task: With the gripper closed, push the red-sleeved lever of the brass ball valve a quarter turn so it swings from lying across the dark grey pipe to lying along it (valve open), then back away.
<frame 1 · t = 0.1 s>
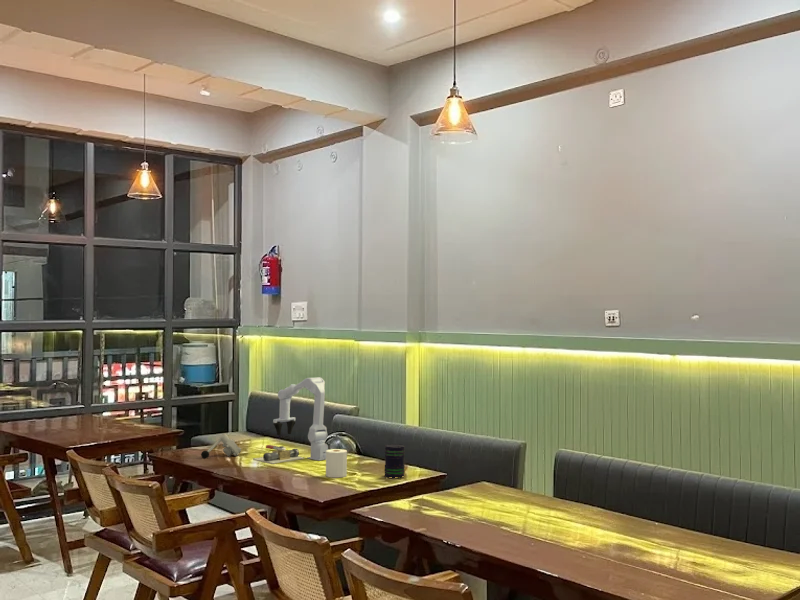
hand: (284, 434, 436), 10 cm above the table, fingers open, 7 cm apart
mounting board: (278, 459, 415), on the table
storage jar: (394, 476, 374), on the table
toilet paper: (336, 476, 373), on the table
lever: (275, 447, 417), point 6 cm above the table, hinge at 0.0°
valve body: (281, 459, 413), resting on mounting board
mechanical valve: (220, 457, 419), on the table
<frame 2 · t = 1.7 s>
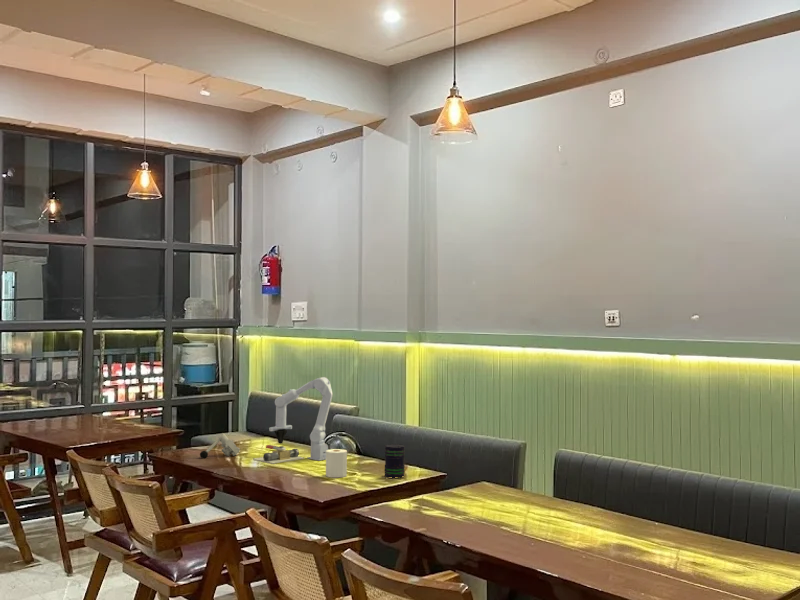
hand: (280, 443, 423), 7 cm above the table, fingers closed
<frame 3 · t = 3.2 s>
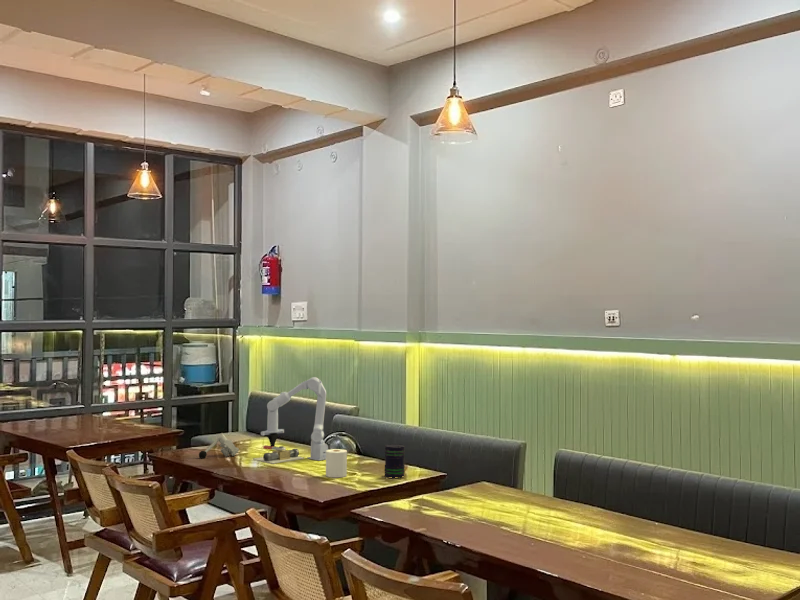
hand: (272, 447, 419), 6 cm above the table, fingers closed, pressing on lever
lever: (274, 447, 416), point 6 cm above the table, hinge at 12.7°, touching gripper
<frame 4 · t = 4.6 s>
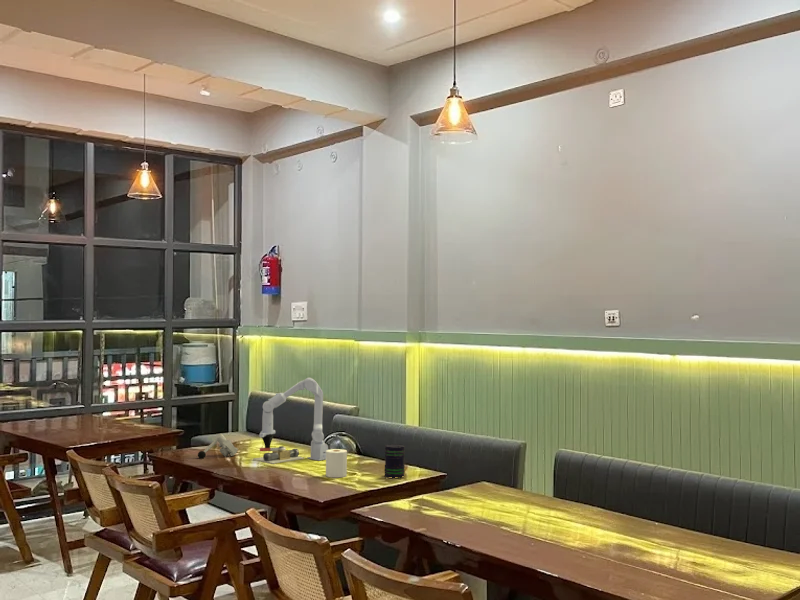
hand: (267, 448, 414), 6 cm above the table, fingers closed, pressing on lever
lever: (272, 448, 412), point 6 cm above the table, hinge at 55.1°, touching gripper
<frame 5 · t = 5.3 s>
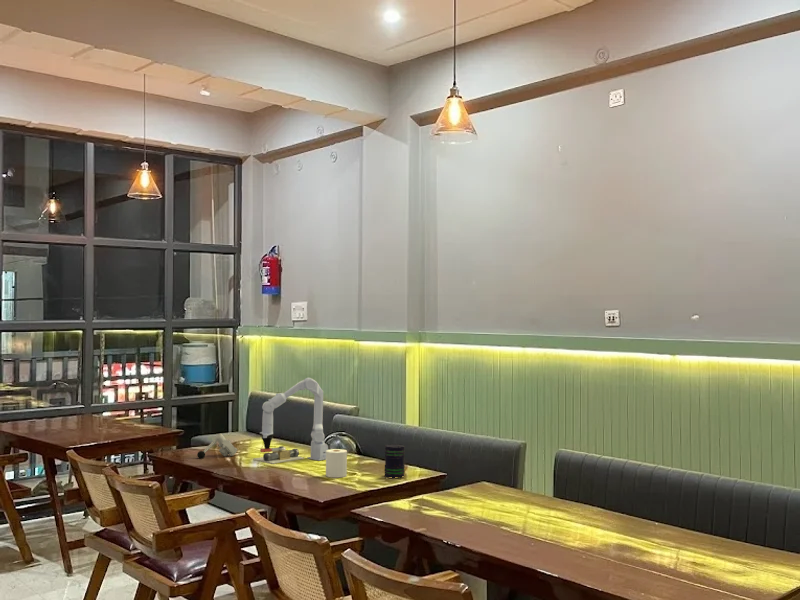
hand: (267, 449, 411), 6 cm above the table, fingers closed, pressing on lever
lever: (273, 449, 411), point 6 cm above the table, hinge at 73.0°, touching gripper
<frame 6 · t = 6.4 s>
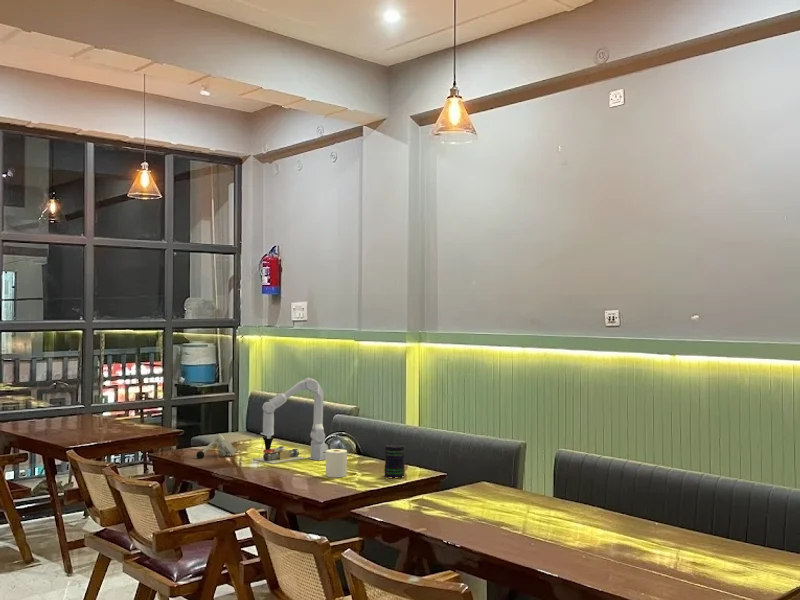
hand: (267, 450, 409), 6 cm above the table, fingers closed
lever: (274, 449, 410), point 6 cm above the table, hinge at 92.2°, touching gripper
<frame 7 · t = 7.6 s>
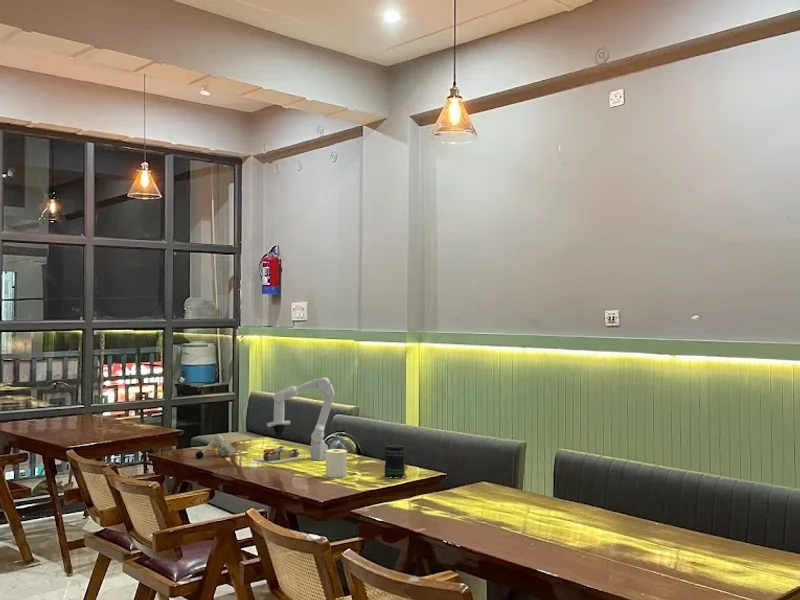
hand: (278, 438, 418), 10 cm above the table, fingers closed
lever: (274, 449, 410), point 6 cm above the table, hinge at 92.2°
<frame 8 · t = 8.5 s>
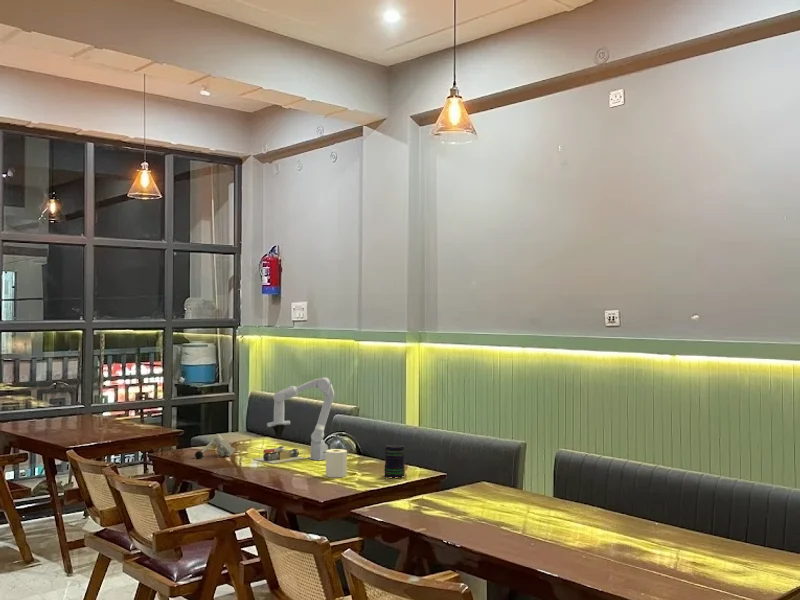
hand: (278, 438, 418), 10 cm above the table, fingers closed
at the end: lever at +92° (first picture: +0°); lever touching nothing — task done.
